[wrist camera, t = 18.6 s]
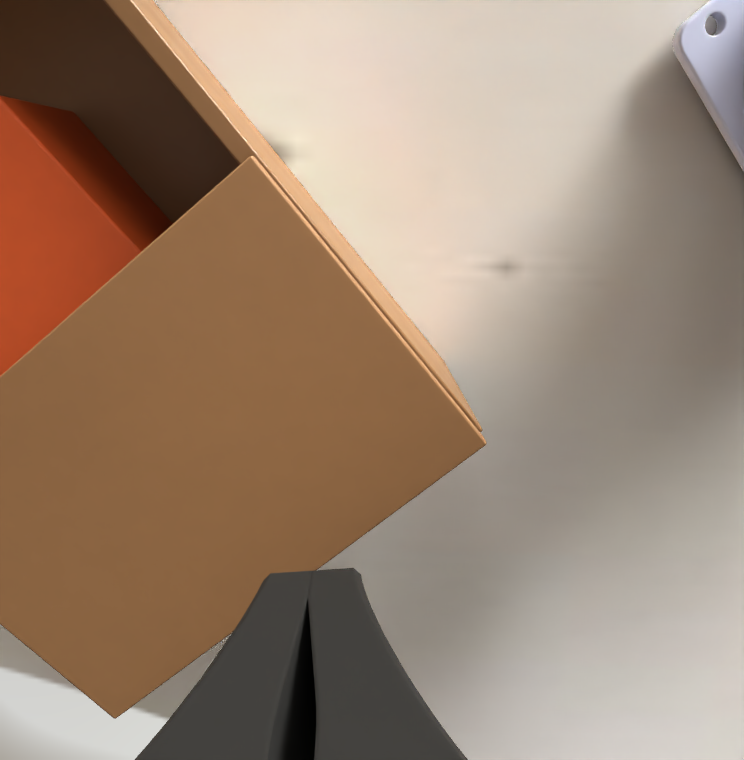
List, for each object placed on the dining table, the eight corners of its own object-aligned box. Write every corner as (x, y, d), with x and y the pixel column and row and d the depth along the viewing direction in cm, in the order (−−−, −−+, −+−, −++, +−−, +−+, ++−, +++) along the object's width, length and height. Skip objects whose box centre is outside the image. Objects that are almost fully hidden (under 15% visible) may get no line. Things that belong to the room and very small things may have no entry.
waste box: (444, 362, 20) (483, 430, 14) (176, 569, 21) (126, 696, 16) (70, -102, 16) (-61, -237, 10) (-224, 196, 17) (-463, 207, 12)
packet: (72, 110, 17) (-6, 92, 13) (283, 347, 19) (271, 393, 15) (-47, 222, 17) (-155, 238, 13) (169, 439, 19) (130, 505, 16)
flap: (484, 437, 14) (487, 444, 14) (120, 706, 16) (114, 720, 15) (253, 155, 12) (251, 154, 12) (-133, 495, 14) (-146, 504, 13)
